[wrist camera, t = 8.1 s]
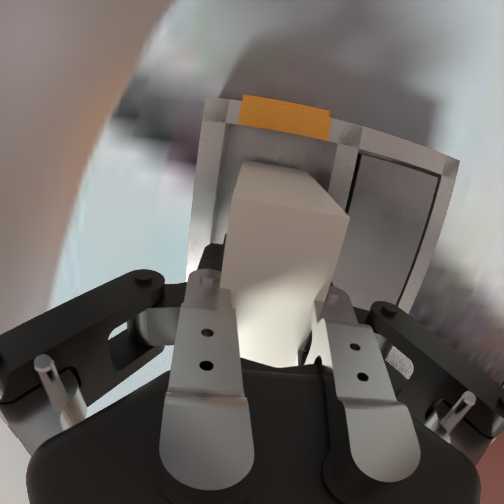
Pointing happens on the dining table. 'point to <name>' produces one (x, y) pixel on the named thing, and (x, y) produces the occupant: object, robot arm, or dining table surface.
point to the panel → (279, 258)
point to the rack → (331, 189)
